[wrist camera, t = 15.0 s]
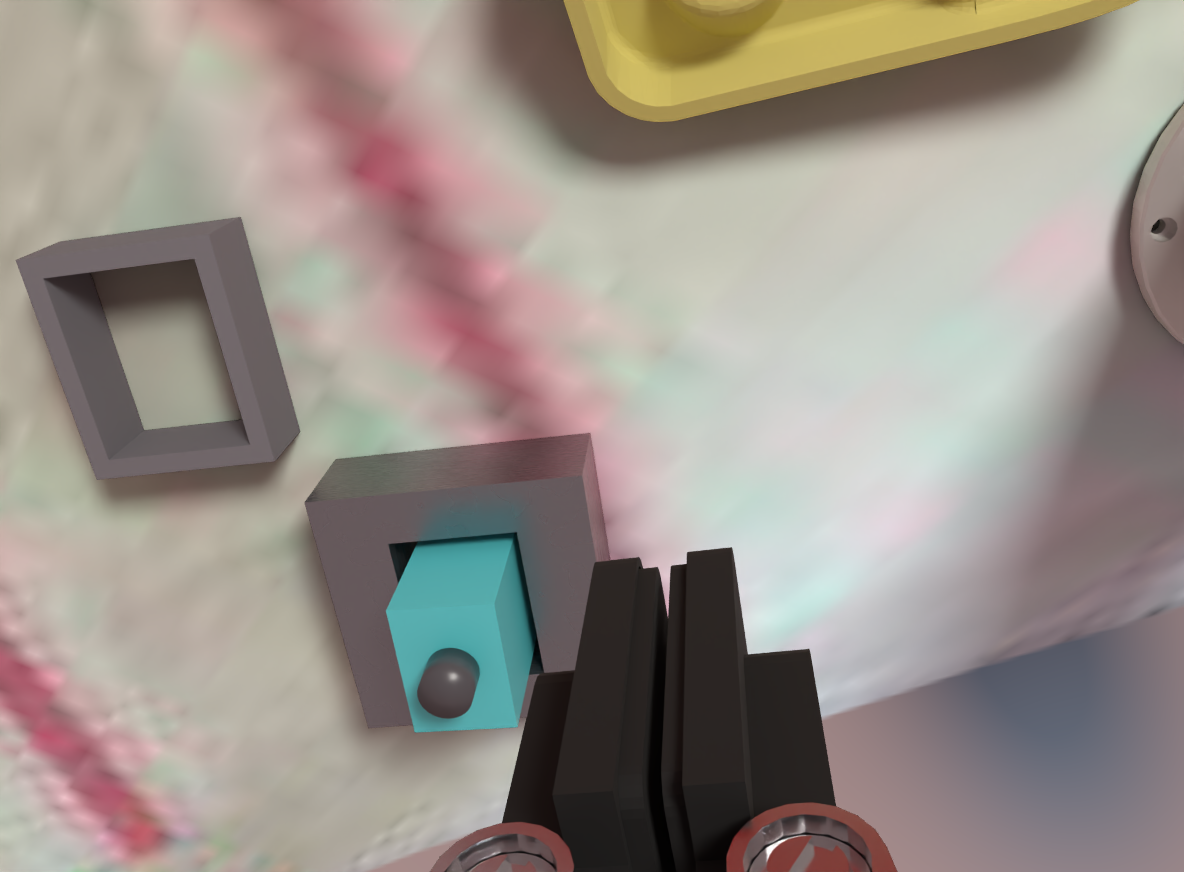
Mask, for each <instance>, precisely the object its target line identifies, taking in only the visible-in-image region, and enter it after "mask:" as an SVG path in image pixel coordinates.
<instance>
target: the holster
mask: <svg viewBox="0 0 1184 872" xmlns="http://www.w3.org/2000/svg"><path fill="white" fill-rule="evenodd" d="M188 259H195V263H196V266H197V269H198V273H199V276H200V279H201V283H202V286H203V289H204V293H205V296H206V299H207V303H208V306H209V309H210V313H211V316H212V319H213V323H214V326H215V329H216V333H217V336H218V339H219V343H220V346H221V349H222V353H223V356H224V359H225V363H226V366H227V369H228V373H229V376H230V379H231V383H232V386H233V389H234V393H235V396H236V399H237V403H238V406H239V409H240V413H241V416H242V419H243V420H235V421H225V422H216V423H207V424H198V425H189V426H180V427H171V428H162V429H152V430H144V429H143V426H142V423H141V420H140V417H139V414H138V411H137V408H136V405H135V402H134V400H133V397H132V394H131V391H130V388H129V385H128V382H127V379H126V376H125V373H124V370H123V367H122V364H121V362H120V359H119V356H118V353H117V350H116V347H115V344H114V341H113V338H112V335H111V332H110V329H109V326H108V324H107V321H106V318H105V315H104V312H103V309H102V306H101V303H100V300H99V297H98V294H97V291H96V288H95V285H94V283H93V280H92V277H91V274H90V272H97V271H104V270H112V269H119V268H127V267H135V266H142V265H150V264H158V263H165V262H173V261H180V260H188ZM16 262H17V265H18V268H19V270H20V273H21V276H22V279H23V281H24V284H25V287H26V289H27V292H28V295H29V298H30V300H31V303H32V306H33V308H34V311H35V314H36V317H37V319H38V322H39V325H40V327H41V330H42V333H43V336H44V338H45V341H46V344H47V346H48V349H49V352H50V355H51V357H52V360H53V363H54V365H55V368H56V371H57V373H58V376H59V379H60V382H61V384H62V387H63V390H64V392H65V395H66V398H67V401H68V403H69V406H70V409H71V411H72V414H73V417H74V420H75V422H76V425H77V428H78V430H79V433H80V436H81V439H82V441H83V444H84V447H85V449H86V452H87V455H88V458H89V460H90V463H91V466H92V468H93V471H94V474H95V476H96V479H97V480H100V479H110V478H119V477H129V476H138V475H148V474H158V473H167V472H177V471H187V470H196V469H206V468H216V467H225V466H235V465H245V464H254V463H264V462H274V461H276V459H277V458H278V457H279V456H280V455H281V453H282V452H283V451H284V450H285V449H286V447H287V446H288V445H289V444H290V443H291V442H292V440H293V439H294V438H295V437H296V436H297V434H298V433H299V432H300V429H299V425H298V422H297V418H296V414H295V411H294V407H293V404H292V400H291V396H290V393H289V389H288V386H287V382H286V378H285V375H284V371H283V368H282V364H281V360H280V357H279V353H278V350H277V346H276V342H275V339H274V335H273V332H272V328H271V324H270V321H269V317H268V314H267V310H266V306H265V303H264V299H263V295H262V292H261V288H260V285H259V281H258V277H257V274H256V270H255V267H254V263H253V259H252V256H251V252H250V249H249V245H248V241H247V238H246V234H245V231H244V227H243V223H242V220H241V217H238V218H231V219H223V220H216V221H209V222H201V223H194V224H186V225H179V226H172V227H164V228H157V229H150V230H142V231H135V232H128V233H120V234H113V235H105V236H98V237H91V238H83V239H76V240H69V241H61V242H58V243H56V244H53V245H51V246H48V247H46V248H44V249H41V250H39V251H36V252H34V253H32V254H29V255H27V256H24V257H22V258H20V259H17V260H16Z"/></svg>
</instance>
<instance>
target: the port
mask: <svg viewBox="0 0 1184 872" xmlns="http://www.w3.org/2000/svg"><path fill="white" fill-rule="evenodd" d="M305 506H306V509H307V513H308V516H309V520H310V524H311V527H312V531H313V534H314V538H315V541H316V545H317V548H318V552H319V555H320V559H321V562H322V566H323V569H324V573H325V576H326V580H327V583H328V587H329V590H330V594H331V597H332V601H333V605H334V608H335V612H336V615H337V619H338V622H339V626H340V629H341V633H342V636H343V640H344V643H345V647H346V650H347V654H348V657H349V661H350V664H351V668H352V671H353V675H354V678H355V682H356V686H357V689H358V693H359V696H360V700H361V703H362V707H363V710H364V714H365V717H366V721H367V724H368V728H377V727H391V726H406V725H413V722H412V718H411V714H410V710H409V706H408V701H407V697H406V693H405V689H404V685H403V680H402V676H401V672H400V668H399V664H398V660H397V655H396V651H395V647H394V643H393V639H392V634H391V630H390V626H389V622H388V618H387V613H386V610H387V607H388V605H389V603H390V601H391V599H392V597H393V594H394V592H395V590H396V588H397V586H398V584H399V581H400V579H401V577H402V575H403V573H404V571H405V568H406V566H407V564H408V562H409V560H410V558H411V555H412V553H413V551H414V549H415V547H416V545H417V542H418V541H426V540H437V539H448V538H459V537H470V536H481V535H492V534H502V533H513V532H517V536H518V541H519V546H520V551H521V556H522V561H523V566H524V572H525V577H526V582H527V587H528V592H529V597H530V602H531V607H532V612H533V617H534V623H535V628H536V633H537V638H536V643H535V648H534V652H533V657H532V662H531V666H530V671H529V676H528V681H527V685H526V690H525V695H524V699H523V704H522V709H521V713H520V718H523V717H527V714H528V710H529V706H530V701H531V697H532V693H533V688H534V684H535V681H536V679H537V676H538V675H539V674H541V673H549V672H560V671H571V670H575V666H576V661H577V655H578V649H579V644H580V638H581V633H582V627H583V622H584V616H585V611H586V605H587V599H588V594H589V588H590V583H591V577H592V572H593V566H594V563H595V562H600V561H609V560H610V555H609V549H608V542H607V536H606V530H605V523H604V517H603V511H602V504H601V498H600V491H599V485H598V479H597V472H596V466H595V460H594V453H593V447H592V441H591V434H590V433H587V434H578V435H568V436H558V437H548V438H539V439H529V440H519V441H510V442H500V443H490V444H481V445H471V446H461V447H451V448H442V449H432V450H422V451H413V452H403V453H393V454H384V455H374V456H364V457H354V458H345V459H336V460H335V461H334V462H333V464H332V465H331V467H330V468H329V469H328V471H327V472H326V473H325V475H324V476H323V478H322V479H321V480H320V482H319V483H318V485H317V486H316V487H315V489H314V490H313V492H312V493H311V494H310V496H309V497H308V499H307V500H306V501H305Z"/></svg>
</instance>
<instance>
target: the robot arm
mask: <svg viewBox="0 0 1184 872" xmlns="http://www.w3.org/2000/svg"><path fill="white" fill-rule="evenodd" d="M1157 220H1160V225H1159V227H1158V228H1157V229H1156V230H1154V231H1151V229H1152V226H1153V224H1154V223H1155V222H1156V221H1157ZM1130 243H1131V254H1132V264H1133V269H1134V272H1135V275H1136V278H1137V281H1138V284H1139V288H1140V291H1141V294H1142V296H1143V298H1144V299H1145V301H1146V303H1147V304H1148V306H1149V307H1150V309H1151V311H1152V312H1153V314H1154V316H1155V317H1156V319H1157V320H1158V321H1159V322H1160V323H1161V324H1162V325H1163V326H1164V327H1165V328H1166V329H1167V330H1168V331H1169V332H1170V334H1171V335H1172V336H1173V337H1174V338H1175V339H1176V340H1177V341H1179V342H1180V343H1182V344H1183V345H1184V104H1183V106H1182V107H1181V108H1180V110H1179V111H1178V112H1177V114H1176V115H1175V116H1174V118H1173V119H1172V121H1171V122H1170V123H1169V125H1168V126H1167V127H1166V129H1165V130H1164V131H1163V133H1162V134H1161V136H1160V138H1159V140H1158V142H1157V144H1156V146H1155V148H1154V150H1153V152H1152V153H1151V155H1150V157H1149V159H1148V161H1147V163H1146V165H1145V167H1144V170H1143V173H1142V176H1141V179H1140V183H1139V186H1138V189H1137V192H1136V196H1135V199H1134V202H1133V211H1132V220H1131V229H1130ZM430 872H897V870H896V867H895V865H894V863H893V860H892V858H891V855H890V853H889V851H888V848H887V847H886V845H885V843H884V842H883V840H882V839H881V837H880V836H879V834H878V833H877V832H876V830H875V829H874V828H873V827H872V826H870V825H869V824H867V823H866V822H865V821H864V820H863V819H861V818H860V817H859V816H858V815H855V814H853V813H850V812H848V811H846V810H843V809H841V808H839V807H836V803H835V797H834V791H833V785H832V780H831V774H830V768H829V762H828V755H827V750H826V744H825V738H824V732H823V726H822V720H821V714H820V708H819V702H818V696H817V690H816V684H815V678H814V672H813V666H812V660H811V654H810V650H809V649H804V650H793V651H782V652H770V653H759V654H748V653H747V646H746V639H745V632H744V625H743V618H742V611H741V604H740V597H739V590H738V582H737V575H736V568H735V562H734V555H733V550H732V547H731V548H721V549H712V550H703V551H693V552H687V564H683V565H673V566H671V573H670V594H669V615H668V616H667V611H666V605H665V599H664V594H663V588H662V582H661V577H660V572H659V569H658V567H654V568H645V569H643V566H642V562H641V560H640V558H639V557H637V558H628V559H618V560H609V561H600V562H595V563H594V566H593V572H592V577H591V583H590V588H589V594H588V599H587V605H586V611H585V616H584V622H583V627H582V633H581V638H580V644H579V649H578V655H577V661H576V666H575V670H571V671H560V672H549V673H541V674H539V675H538V676H537V679H536V681H535V684H534V688H533V693H532V697H531V701H530V706H529V710H528V714H527V718H526V723H525V727H524V731H523V735H522V740H521V744H520V748H519V752H518V757H517V761H516V765H515V770H514V774H513V778H512V782H511V787H510V791H509V795H508V799H507V804H506V808H505V812H504V817H503V821H502V823H500V824H496V825H493V826H490V827H486V828H483V829H480V830H477V831H475V832H473V833H471V834H470V835H468V836H466V837H464V838H462V839H461V840H459V841H457V842H456V843H455V844H454V845H452V846H451V847H450V848H449V849H448V850H447V851H446V852H445V853H444V854H442V855H441V856H440V857H439V859H438V860H437V862H436V863H435V865H434V866H433V868H432V869H431V871H430Z"/></svg>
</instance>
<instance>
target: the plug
mask: <svg viewBox="0 0 1184 872" xmlns="http://www.w3.org/2000/svg"><path fill="white" fill-rule="evenodd" d="M386 613H387V618H388V622H389V626H390V630H391V634H392V639H393V643H394V647H395V651H396V655H397V660H398V664H399V668H400V672H401V676H402V680H403V685H404V689H405V693H406V697H407V701H408V706H409V710H410V714H411V718H412V722H413V727H414V731H415V732H434V731H454V730H474V729H493V728H513V727H518V723H519V718H520V713H521V709H522V704H523V699H524V695H525V690H526V685H527V681H528V676H529V671H530V666H531V662H532V657H533V652H534V648H535V643H536V638H537V633H536V628H535V623H534V617H533V612H532V607H531V602H530V597H529V592H528V587H527V582H526V577H525V572H524V566H523V561H522V556H521V551H520V546H519V541H518V536H517V532H513V533H502V534H492V535H481V536H470V537H459V538H448V539H437V540H426V541H418V542H417V545H416V547H415V549H414V551H413V553H412V555H411V558H410V560H409V562H408V564H407V566H406V568H405V571H404V573H403V575H402V577H401V579H400V581H399V584H398V586H397V588H396V590H395V592H394V594H393V597H392V599H391V601H390V603H389V605H388V607H387V610H386Z"/></svg>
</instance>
